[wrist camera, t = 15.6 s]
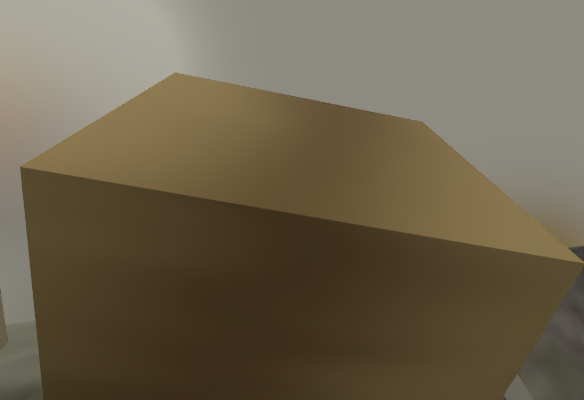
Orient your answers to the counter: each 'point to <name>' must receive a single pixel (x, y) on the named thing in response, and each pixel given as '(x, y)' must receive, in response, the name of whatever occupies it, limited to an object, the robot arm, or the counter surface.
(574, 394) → the counter surface
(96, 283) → the walnut peg
